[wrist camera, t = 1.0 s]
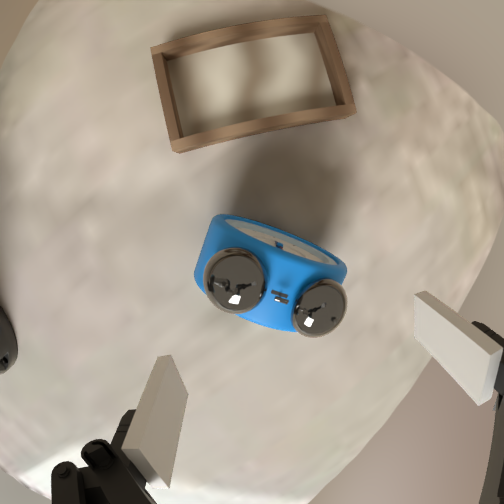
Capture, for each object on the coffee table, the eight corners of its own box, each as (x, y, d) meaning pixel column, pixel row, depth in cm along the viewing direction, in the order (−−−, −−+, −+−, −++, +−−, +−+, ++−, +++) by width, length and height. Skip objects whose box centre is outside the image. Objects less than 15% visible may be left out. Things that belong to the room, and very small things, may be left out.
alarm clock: (326, 246, 36) (380, 292, 21) (306, 293, 37) (344, 362, 22) (218, 206, 34) (203, 229, 20) (200, 258, 35) (176, 314, 21)
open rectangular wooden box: (179, 153, 32) (172, 150, 29) (158, 59, 30) (150, 47, 26) (345, 118, 32) (356, 112, 28) (317, 28, 29) (325, 14, 26)
